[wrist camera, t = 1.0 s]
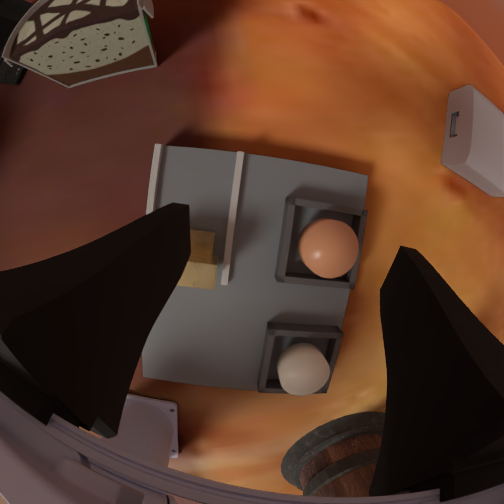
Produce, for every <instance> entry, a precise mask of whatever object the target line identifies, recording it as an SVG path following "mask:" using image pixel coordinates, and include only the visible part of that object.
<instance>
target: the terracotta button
mask: <svg viewBox="0 0 504 504" xmlns="http://www.w3.org/2000/svg"><path fill="white" fill-rule="evenodd" d="M297 247H298V254H299V256H300V259H301V260H302V262H303V263H304V264H305V265H306V266H307V267H308V268H309V269H310V270H311V271H313V272H314V273H315V274H316V275H318V276H320V277H323V278H336V277H339V276H342V275H343V274H345V273H346V272H348V271H349V270H350V269H351V268H352V266H353V265H354V263H355V261H356V259H357V256H358V251H359V245H358V239H357V236H356V234H355V232H354V231H353V230H352V228H351V227H350V226H348V225H347V224H345V223H344V222H341V221H337V220H333V219H328V218H320V219H316V220H314V221H312V222H310V223H309V224H307V225H306V226H305V227H304V228H303V230H302V231H301V233H300V235H299V238H298V245H297Z"/></svg>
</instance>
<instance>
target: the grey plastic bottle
mask: <svg viewBox="0 0 504 504" xmlns="http://www.w3.org/2000/svg"><path fill="white" fill-rule="evenodd" d="M452 113H453V114H452ZM451 116H452V125H451ZM450 127H451V135H450ZM449 136H450V138H449ZM441 163H442V165H444V166H445V167H447V168H449V169H450V170H452V171H453V172H455V173H457V174H458V175H460V176H461V177H463V178H465V179H466V180H468V181H469V182H471V183H472V184H474V185H475V186H477V187H478V188H480V189H481V190H482V191H484V192H485V193H487V194H488V195H490V196H496V197H504V113H503V112H501V111H500V110H499V109H498V108H497V107H496V106H495V105H494V104H493V103H492V102H490V101H489V100H488V99H487V98H486V97H485V96H483V95H482V94H481V93H480V92H479V91H478V90H476V89H475V88H474V87H473V86H471V85H466V86H464V87H461V88H459V89H456V90H454V91H452V92H450V94H449V96H448V105H447V116H446V126H445V135H444V143H443V150H442V157H441Z"/></svg>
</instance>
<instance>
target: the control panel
mask: <svg viewBox="0 0 504 504" xmlns="http://www.w3.org/2000/svg"><path fill="white" fill-rule="evenodd" d="M367 183H368V176H367V175H363V174H359V173H354V172H350V171H345V170H340V169H336V168H331V167H326V166H321V165H315V164H310V163H305V162H299V161H293V160H287V159H281V158H275V157H268V156H261V155H254V154H246V153H244V152H241V151H237V152H230V151H221V150H212V149H202V148H190V147H178V146H163V145H162V144H155V148H154V154H153V161H152V168H151V176H150V183H149V192H148V201H147V210H146V215H147V214H149V213H151V212H153V211H155V210H157V209H159V208H161V207H163V206H165V205H167V204H170V203H173V202H174V203H181V204H187V205H189V207H190V229H197V230H205V231H214V232H215V240H214V249H213V255H219V262H218V271H217V279H216V284H215V290H211V289H203V288H195V287H187V286H179V285H176V287H175V289H174V291H173V292H172V294H171V296H170V297H169V299H168V301H167V303H166V304H165V306H164V308H163V310H162V311H161V313H160V315H159V317H158V318H157V320H156V322H155V324H154V326H153V328H152V330H151V332H150V334H149V336H148V338H147V341H146V343H145V346H144V348H143V350H142V363H143V377H148V378H153V379H159V380H165V381H171V382H178V383H185V384H192V385H200V386H209V387H219V388H229V389H242V390H258V392H261V393H288V392H286V391H285V390H284V389H283V388H282V386H281V383H280V379H279V376H278V372H277V366H276V365H277V360H278V358H279V356H280V354H281V353H282V352H283V351H284V350H285V349H286V348H288V347H290V346H292V345H294V344H298V343H309V344H313V345H315V346H316V347H318V348H319V349H320V351H321V352H322V354H323V356H324V358H325V359H326V361H327V363H328V365H329V368H330V375H329V378H328V380H327V382H326V383H325V385H324V386H323V387H322V388H321V389H319V390H318V391H316V392H314V393H312V394H315V393H327V390H328V387H329V383H330V380H331V377H332V373H333V370H334V367H335V363H336V360H337V356H338V352H339V349H340V345H341V341H342V337H343V334H344V333H343V332H342V331H341V328H342V324H343V319H344V315H345V311H346V307H347V302H348V298H349V293H350V289H354V286H355V281H356V277H357V271H358V266H359V261H360V255H361V250H362V244H363V238H364V232H365V225H366V219H367V212H368V211H367V210H364V207H365V199H366V191H367ZM320 218H328V219H333V220H337V221H341V222H344V223H345V224H347V225H348V226H350V227H351V228H352V230H353V231H354V232H355V234H356V236H357V239H358V245H359V251H358V256H357V259H356V261H355V263H354V265H353V266H352V268H351V269H350V270H349V271H348V272H346V273H345V274H343V275H342V276H339V277H336V278H323V277H320V276H318V275H316V274H315V273H314V272H313V271H311V270H310V269H309V268H308V267H307V266H306V265H305V264H304V263H303V262H302V260H301V259H300V256H299V254H298V247H297V245H298V238H299V235H300V233H301V231H302V230H303V228H304V227H305V226H306V225H307V224H309V223H310V222H312V221H314V220H316V219H320Z"/></svg>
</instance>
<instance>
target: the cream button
mask: <svg viewBox="0 0 504 504" xmlns="http://www.w3.org/2000/svg"><path fill="white" fill-rule="evenodd" d="M276 366H277V372H278V376H279V379H280V383H281V386H282V388H283V389H284V390H285V391H286V392H288V393H289V394H292V395H296V396H305V395H309V394H312V393H314V392H316V391H318V390H319V389H321V388H322V387H323V386H324V385H325V383H326V382H327V380H328V378H329V375H330V368H329V365H328V363H327V361H326V359H325V358H324V356H323V354H322V352H321V351H320V349H319V348H318V347H316V346H315V345H313V344H309V343H298V344H294V345H292V346H290V347H288V348H286V349H285V350H284V351H283V352H282V353H281V354H280V356H279V358H278V360H277V365H276Z"/></svg>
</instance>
